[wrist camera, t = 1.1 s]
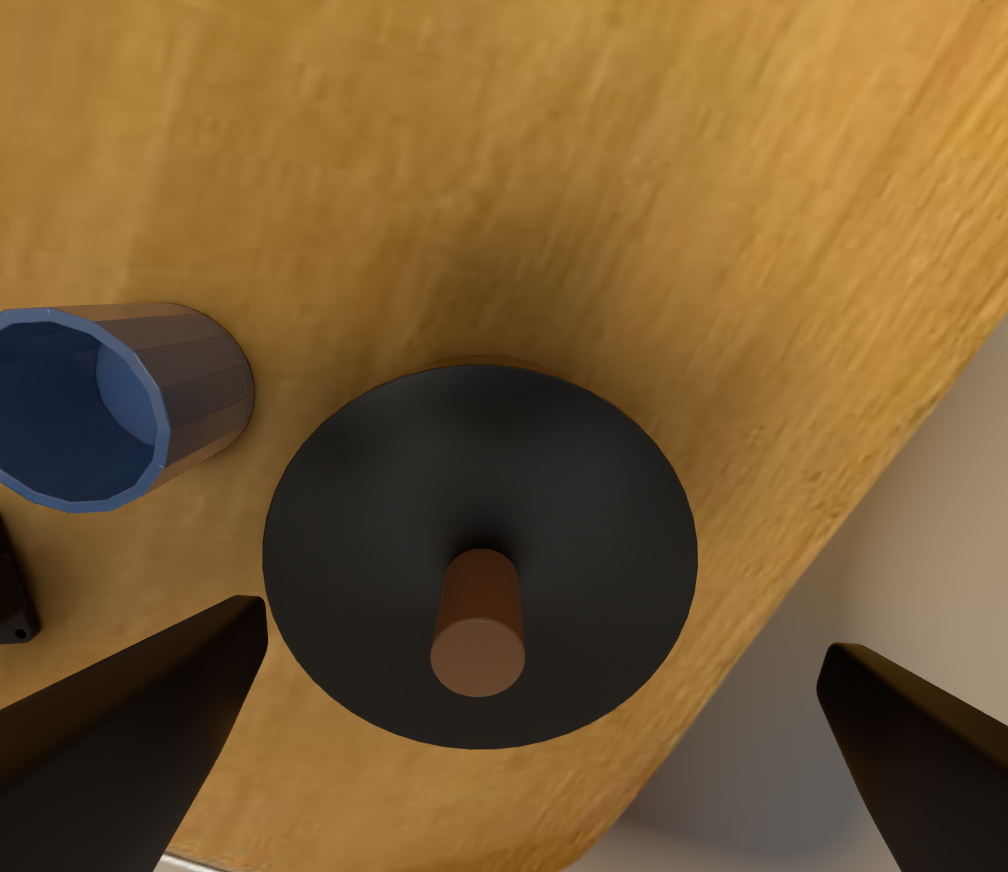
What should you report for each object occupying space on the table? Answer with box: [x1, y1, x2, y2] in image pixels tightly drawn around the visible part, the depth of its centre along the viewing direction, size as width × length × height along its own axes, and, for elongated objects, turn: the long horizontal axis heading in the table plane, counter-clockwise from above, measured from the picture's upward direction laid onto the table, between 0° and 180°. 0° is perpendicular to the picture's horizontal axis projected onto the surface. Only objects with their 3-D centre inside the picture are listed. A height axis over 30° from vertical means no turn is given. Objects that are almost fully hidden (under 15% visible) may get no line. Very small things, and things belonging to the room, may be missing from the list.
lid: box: [262, 362, 698, 750], centre depth 15 cm, size 14×14×5 cm
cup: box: [0, 302, 254, 514], centre depth 17 cm, size 6×6×6 cm
